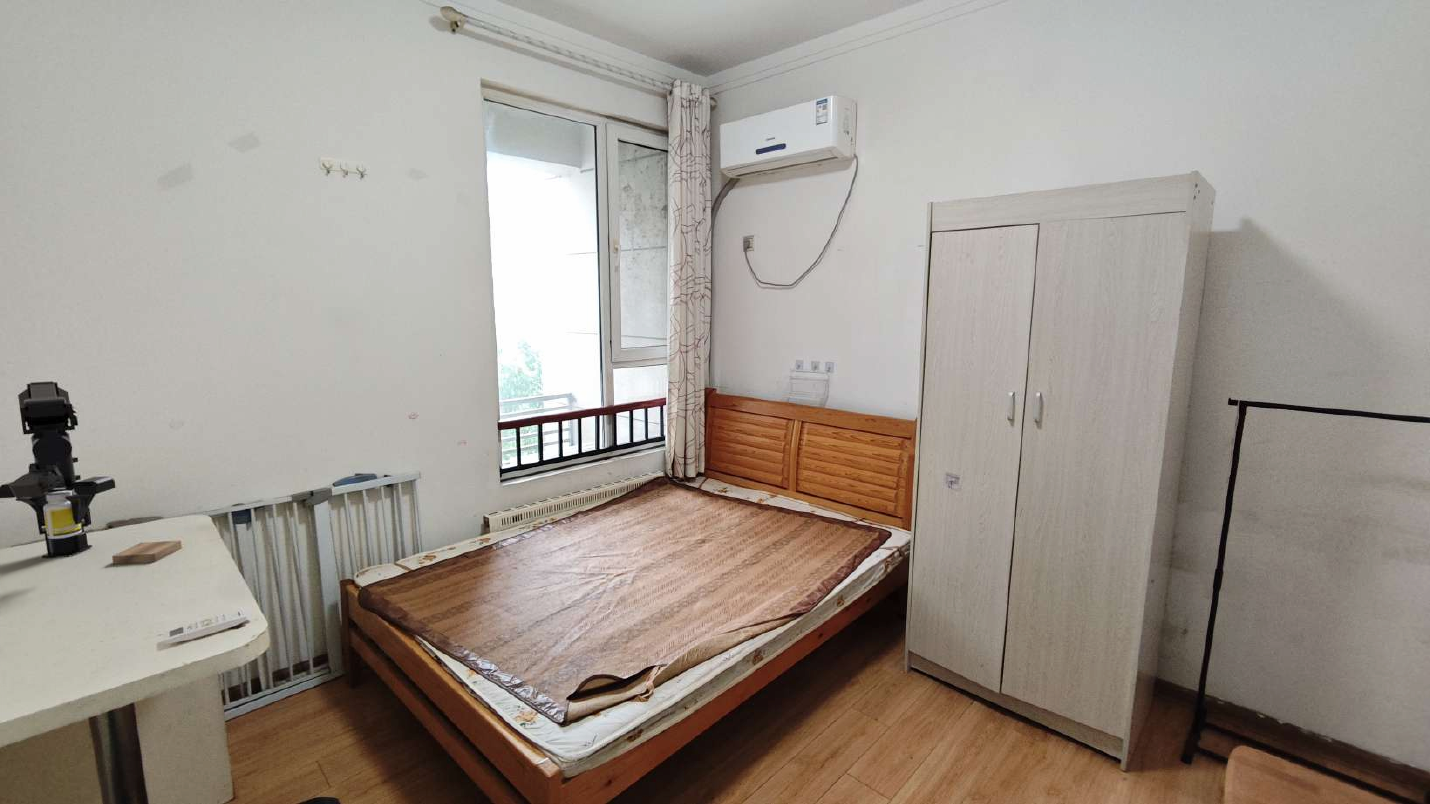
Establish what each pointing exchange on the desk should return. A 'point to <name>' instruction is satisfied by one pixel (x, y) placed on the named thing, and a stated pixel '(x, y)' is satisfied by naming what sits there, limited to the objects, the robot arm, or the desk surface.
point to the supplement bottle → (60, 516)
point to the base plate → (147, 552)
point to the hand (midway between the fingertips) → (63, 524)
